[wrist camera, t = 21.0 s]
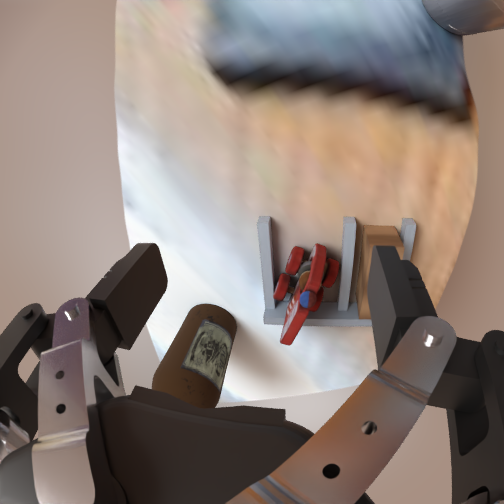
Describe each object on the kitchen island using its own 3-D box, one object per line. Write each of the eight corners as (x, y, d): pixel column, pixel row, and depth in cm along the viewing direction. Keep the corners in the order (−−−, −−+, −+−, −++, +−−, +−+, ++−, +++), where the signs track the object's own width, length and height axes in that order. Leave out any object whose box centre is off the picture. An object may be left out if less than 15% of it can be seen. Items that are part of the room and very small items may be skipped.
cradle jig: (259, 216, 41) (254, 230, 38) (412, 218, 37) (420, 232, 33) (267, 307, 49) (264, 324, 46) (394, 308, 45) (398, 325, 42)
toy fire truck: (344, 246, 41) (351, 292, 32) (310, 306, 48) (307, 355, 39) (299, 229, 41) (295, 273, 32) (271, 293, 48) (260, 341, 39)
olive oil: (216, 347, 58) (177, 458, 37) (175, 316, 55) (119, 427, 34) (252, 327, 53) (217, 455, 32) (207, 290, 50) (149, 419, 29)
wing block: (363, 224, 39) (370, 246, 34) (393, 225, 38) (404, 247, 33) (355, 293, 45) (358, 319, 40) (382, 293, 44) (388, 319, 39)
